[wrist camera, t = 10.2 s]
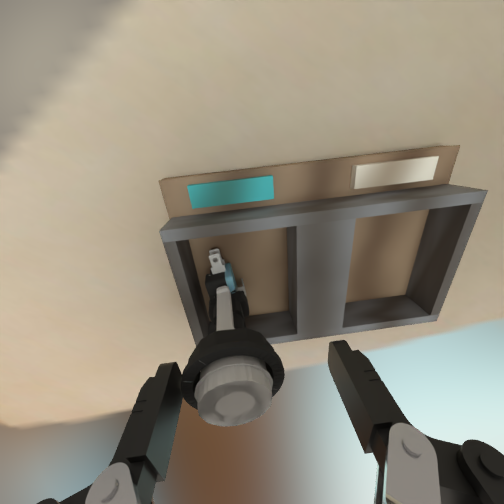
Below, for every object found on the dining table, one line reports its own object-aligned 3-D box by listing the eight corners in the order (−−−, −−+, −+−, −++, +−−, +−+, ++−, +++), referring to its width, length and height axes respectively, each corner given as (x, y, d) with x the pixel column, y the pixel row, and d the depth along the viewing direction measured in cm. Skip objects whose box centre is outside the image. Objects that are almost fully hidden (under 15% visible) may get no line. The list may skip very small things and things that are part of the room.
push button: (182, 254, 17) (143, 367, 8) (246, 238, 17) (277, 330, 8) (207, 314, 20) (198, 446, 11) (261, 300, 20) (296, 418, 11)
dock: (441, 145, 16) (509, 144, 12) (401, 295, 23) (436, 326, 19) (164, 178, 16) (141, 187, 12) (204, 322, 23) (198, 360, 19)
